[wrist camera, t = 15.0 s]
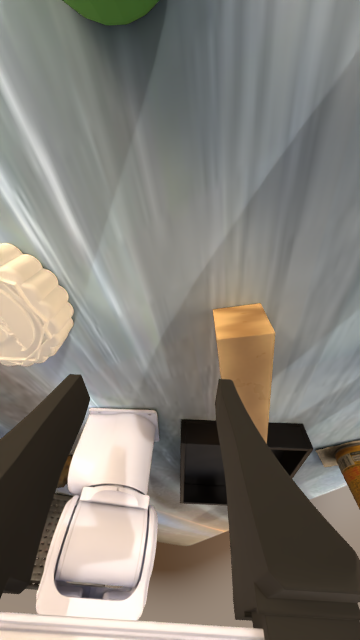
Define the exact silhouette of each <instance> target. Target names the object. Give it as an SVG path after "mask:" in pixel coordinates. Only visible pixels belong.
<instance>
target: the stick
mask: <svg viewBox="0 0 360 640" xmlns="http://www.w3.org/2000/svg"><path fill="white" fill-rule="evenodd" d="M213 317H214V325H215V333H216V342H217V350H218V359H219V367H220V375H221V379H231V380H232V381H233V383H234V385H235V388H236V390H237V392H238V394H239V396H240V399H241V401H242V403H243V404H244V406H245V408H246V410H247V412H248V414H249V416H250V417H251V419H252V421H253V423H254V424H255V426H256V428H257V429H258V431H259V433H260V434H261V436H262V437H263V439H264V441H265V442H266V444H267V434H268V421H269V408H270V395H271V382H272V368H273V355H274V342H275V332H274V330H273V328H272V326H271V324H270V322H269V319H268V317H267V315H266V313H265V311H264V309H263V307H262V305H261V303H259V304H251V305H243V306H236V307H228V308H221V309H213Z"/></svg>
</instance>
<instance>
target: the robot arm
mask: <svg viewBox="0 0 360 640" xmlns="http://www.w3.org/2000/svg"><path fill="white" fill-rule="evenodd" d="M89 401H90V397H89V394H88V392H87V389H86V386H85V384H84V381H83V378H82V376H81V375H74V374H70V375H69V376H67V377H66V378H65V379H64V380H63V381H62V382H61V383H60V384H59V385H58V386H57V387H56V388H55V389H54V390H53V391H52V392H51V393H50V394H49V395H48V396H47V397H46V398H45V399H44V400H43V401H42V402H41V403H40V404H39V405H38V406H37V407H36V408H35V409H34V410H33V411H32V412H31V413H30V414H29V415H28V416H26V417H25V418H24V419H23V420H22V421H21V422H20V423H19V424H18V425H16V426H15V427H14V428H13V429H12V430H11V431H10V432H8V433H7V434H6V435H5V436H4V437H2V438H1V439H0V598H1V595H2V593H11V594H20V593H21V592H22V591H23V590H24V589H26V587H27V586H28V585H29V584H30V581H31V576H32V572H33V568H34V564H35V560H36V556H37V553H38V549H39V545H40V541H41V538H42V534H43V530H44V527H45V523H46V520H47V516H48V513H49V510H50V507H51V503H52V500H53V497H54V494H55V491H56V488H57V485H58V482H59V479H60V476H61V473H62V470H63V467H64V465H65V462H66V460H67V458H68V455H69V453H70V451H71V449H72V446H73V444H74V442H75V439H76V437H77V435H78V432H79V430H80V428H81V425H82V423H83V420H84V418H85V415H86V412H87V408H88V405H89ZM215 406H216V422H217V429H218V435H219V441H220V447H221V454H222V460H223V466H224V472H225V480H226V493H227V505H228V519H229V533H230V547H231V564H232V582H233V602H234V612H235V619H236V620H252V621H253V628H241V627H226V626H211V625H196V624H180V623H164V622H149V621H137V620H138V619H139V618H140V616H141V615H142V612H143V608H144V606H145V605H146V599H147V592H148V585H149V579H150V576H151V573H152V568H153V563H154V557H155V551H156V542H157V528H158V519H157V513H156V511H155V510H154V507H153V506H152V505H149V497H150V496H148V495H147V490H148V482H149V475H150V467H151V459H152V452H153V444H154V442H158V441H159V439H160V437H159V427H158V417H157V412H156V411H155V410H133V409H106V408H90V409H89V414H90V415H89V417H88V420H87V422H86V425H85V427H84V430H83V432H82V435H81V437H80V440H79V443H78V445H77V448H76V450H75V453H74V455H73V458H72V461H71V464H70V468H69V474H68V489H69V491H70V493H71V494H74V495H75V496H74V497H73V498H72V499H70V500H69V501H68V502H67V504H66V505H65V507H64V510H63V512H62V514H61V517H60V519H59V522H58V524H57V527H56V530H55V533H54V535H53V538H52V541H51V545H50V548H49V551H48V554H47V558H46V562H45V567H44V573H43V576H42V579H41V582H40V585H39V588H38V592H37V595H36V598H37V603H36V611H37V614H27V613H12V612H0V640H360V621H359V620H360V609H359V607H358V604H357V603H358V602H360V560H359V558H358V556H357V554H356V552H355V551H354V550H353V548H352V547H351V546H350V545H349V544H348V543H347V542H346V541H345V540H344V539H343V538H342V537H341V536H340V534H339V533H338V532H337V531H336V530H335V529H334V528H333V527H332V526H331V525H330V524H329V522H327V520H326V519H325V518H324V517H323V516H322V514H321V513H320V512H319V511H318V510H317V509H316V508H315V507H314V505H313V504H312V503H311V502H310V501H309V499H308V498H307V497H306V496H305V494H304V493H303V492H302V491H301V489H300V488H299V487H298V486H297V485H296V483H295V482H294V481H293V480H292V478H291V477H290V476H289V474H288V473H287V472H286V470H285V469H284V468H283V466H282V465H281V464H280V462H279V461H278V460H277V458H276V457H275V455H274V454H273V453H272V451H271V450H270V448H269V447H268V445H267V444H266V442H265V441H264V439H263V437H262V436H261V434H260V433H259V431H258V429H257V428H256V426H255V424H254V423H253V421H252V419H251V417H250V416H249V414H248V412H247V410H246V408H245V406H244V404H243V403H242V401H241V399H240V396H239V394H238V392H237V390H236V388H235V385H234V383H233V381H232V380H231V379H219V383H218V389H217V395H216V402H215ZM79 495H81V496H79ZM66 581H70V582H81V583H92V584H103V585H115V586H124V587H121V588H106V587H95V586H84V585H73V584H70V583H68V582H66Z"/></svg>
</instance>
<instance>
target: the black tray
mask: <svg viewBox="0 0 360 640" xmlns="http://www.w3.org/2000/svg"><path fill="white" fill-rule="evenodd" d="M267 445H268V447H269V448H270V450H271V451H272V453H273V454H274V455H275V457H276V458H277V460H278V461H279V462H280V464H281V465H282V466H283V468H284V469H285V470H286V472H287V473H288V474H289V476H290V477H291V478H293V477H294V475H295V474H296V472H297V471H298V470H299V468H300V467H301V466H302V464H303V463H304V461H305V460H306V459H307V457H308V456H309V455H310V453H311V452H312V450H313V447H312V444H311V442H310V440H309V437H308V435H307V433H306V430H305V428H304V426H303V424H288V423H268V434H267ZM180 503H184V504H205V505H226V506H228V505H227V493H226V480H225V472H224V466H223V460H222V454H221V447H220V441H219V435H218V429H217V422H216V421H207V420H181V474H180Z"/></svg>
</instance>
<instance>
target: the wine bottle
mask: <svg viewBox="0 0 360 640" xmlns="http://www.w3.org/2000/svg"><path fill="white" fill-rule="evenodd" d="M62 1H64V2H65V3H66V4H68V5H69V6H70V7H72V8H73V9H74V10H76V11H77V12H78V13H79V14H81V15H82V16H83V17H85V18H87V19H90V20H93V21H96V22H99V23H101V24H104V25H124V24H129V23H131V22H133V21H135V20H137V19H139V18H141V17H143V16H145V15H146V14H147V13H148V12H149V11H150V10H151V9H152V8H153V7H154V6H155V5H156V3H157V2H158V1H159V0H62Z"/></svg>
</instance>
